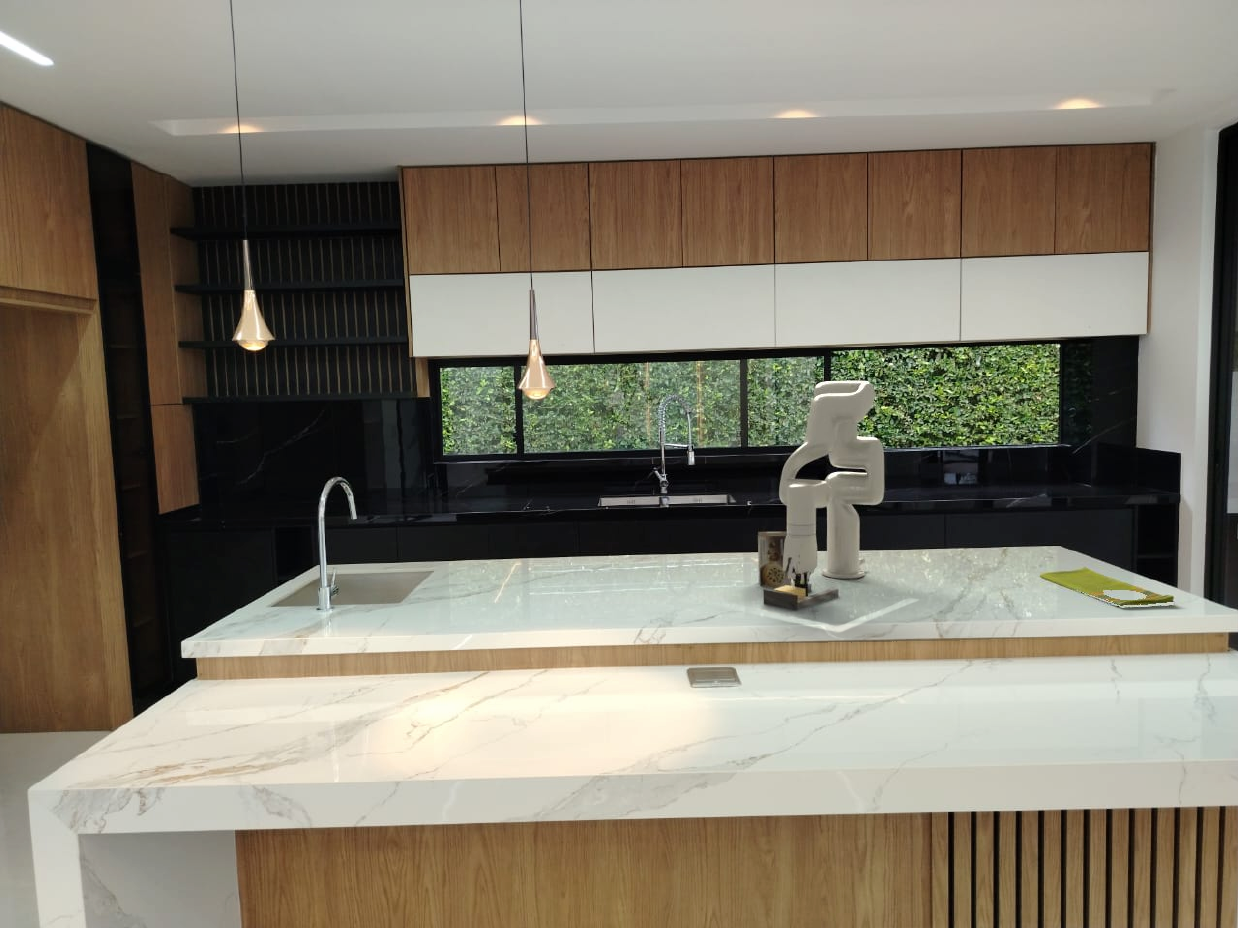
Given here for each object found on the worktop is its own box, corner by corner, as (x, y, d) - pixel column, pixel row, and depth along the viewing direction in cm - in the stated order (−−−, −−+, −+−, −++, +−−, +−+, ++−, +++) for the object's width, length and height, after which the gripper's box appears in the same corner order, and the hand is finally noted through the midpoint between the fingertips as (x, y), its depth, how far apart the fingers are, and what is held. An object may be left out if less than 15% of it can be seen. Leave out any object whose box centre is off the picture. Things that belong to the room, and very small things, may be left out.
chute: (800, 592, 243) (800, 574, 243) (844, 601, 233) (844, 582, 233) (757, 607, 230) (757, 588, 229) (802, 617, 220) (802, 597, 219)
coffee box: (789, 585, 253) (789, 531, 251) (791, 590, 246) (791, 535, 245) (757, 585, 254) (757, 531, 252) (759, 590, 247) (759, 535, 245)
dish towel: (1121, 611, 221) (1121, 599, 220) (1037, 578, 256) (1038, 568, 256) (1176, 608, 222) (1177, 596, 222) (1086, 576, 258) (1086, 565, 257)
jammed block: (786, 599, 232) (786, 585, 231) (805, 603, 227) (805, 588, 227) (773, 604, 228) (773, 589, 227) (792, 608, 223) (792, 593, 223)
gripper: (805, 524, 237) (805, 589, 239) (773, 532, 227) (773, 600, 229) (828, 527, 232) (828, 594, 234) (797, 535, 221) (797, 605, 223)
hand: (801, 597), depth 231 cm, fingers closed
